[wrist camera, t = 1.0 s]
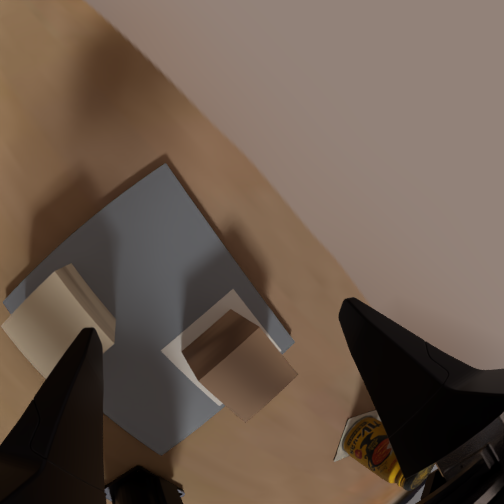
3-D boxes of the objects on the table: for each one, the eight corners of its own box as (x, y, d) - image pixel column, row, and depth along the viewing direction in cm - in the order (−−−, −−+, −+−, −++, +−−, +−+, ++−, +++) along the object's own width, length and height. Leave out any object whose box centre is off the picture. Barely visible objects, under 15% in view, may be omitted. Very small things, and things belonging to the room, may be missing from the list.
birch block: (70, 359, 17) (58, 392, 12) (25, 306, 15) (0, 326, 11) (116, 319, 18) (114, 343, 14) (71, 263, 17) (54, 271, 12)
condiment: (347, 418, 30) (420, 463, 19) (389, 404, 33) (455, 435, 22) (332, 461, 30) (394, 508, 19) (374, 444, 33) (432, 478, 22)
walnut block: (221, 390, 22) (245, 422, 17) (181, 351, 20) (198, 381, 16) (265, 351, 23) (298, 374, 19) (230, 308, 22) (259, 326, 17)
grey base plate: (159, 450, 20) (161, 455, 20) (6, 300, 15) (2, 302, 14) (290, 339, 25) (295, 342, 25) (164, 165, 20) (165, 162, 19)
